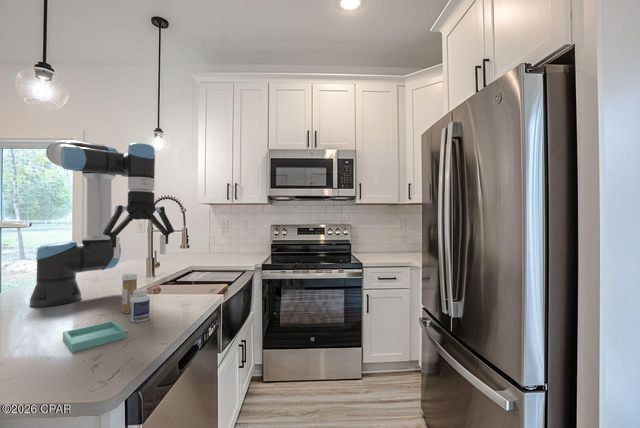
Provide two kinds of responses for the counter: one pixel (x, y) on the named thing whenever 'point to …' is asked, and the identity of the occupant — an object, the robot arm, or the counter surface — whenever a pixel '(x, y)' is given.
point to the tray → (93, 335)
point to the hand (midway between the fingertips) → (140, 256)
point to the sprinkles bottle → (128, 290)
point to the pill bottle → (139, 306)
